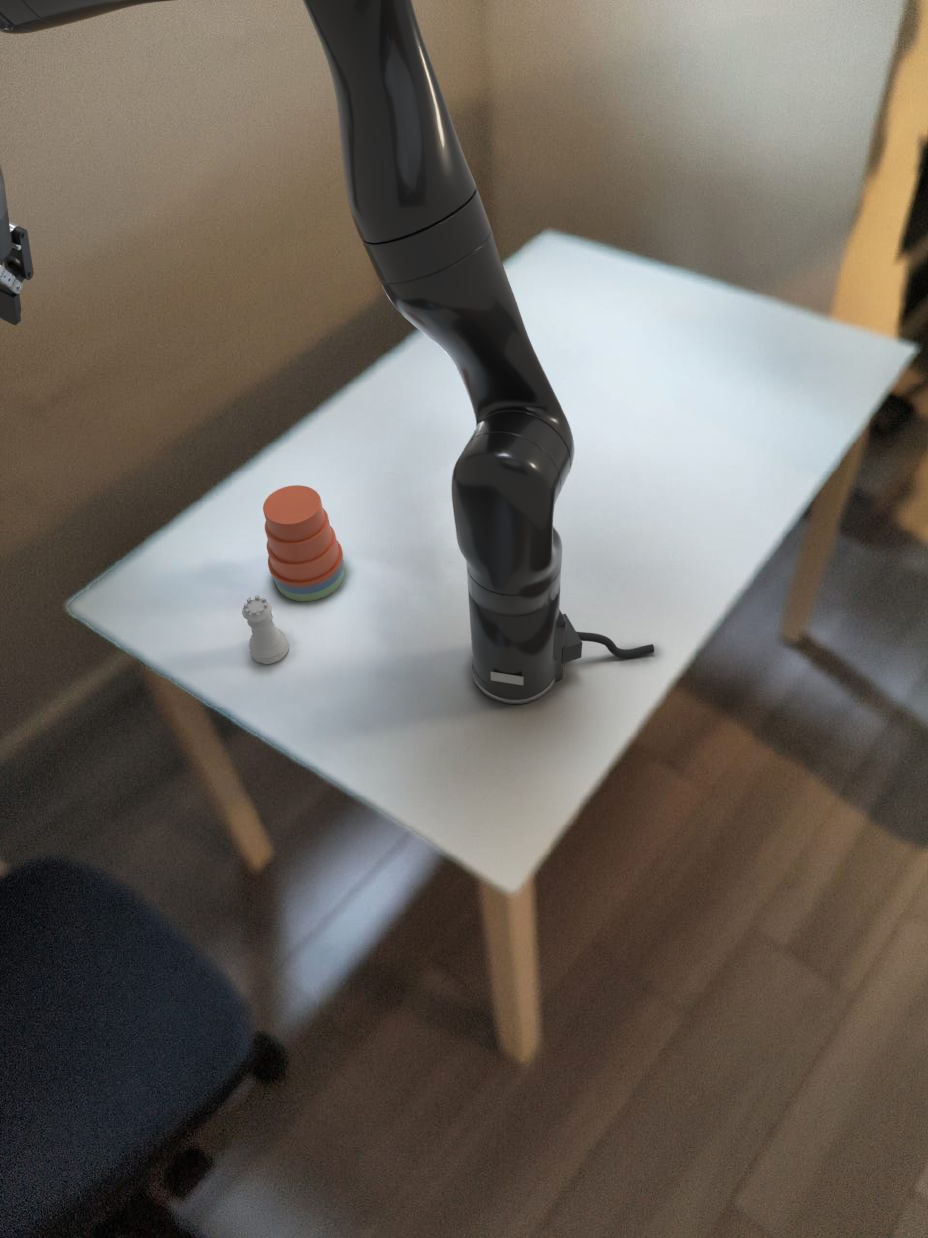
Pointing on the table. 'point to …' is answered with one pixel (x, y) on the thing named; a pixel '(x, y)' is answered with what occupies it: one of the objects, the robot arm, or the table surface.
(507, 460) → the robot arm
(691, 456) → the table surface
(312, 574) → the cup stack
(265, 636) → the rook chess piece
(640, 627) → the table surface
